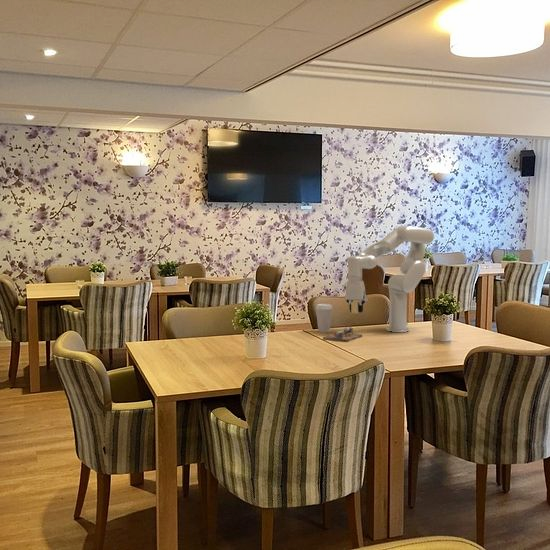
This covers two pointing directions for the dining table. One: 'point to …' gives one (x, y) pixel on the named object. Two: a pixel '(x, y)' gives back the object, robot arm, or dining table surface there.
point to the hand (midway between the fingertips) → (356, 311)
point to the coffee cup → (324, 317)
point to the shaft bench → (343, 335)
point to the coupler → (355, 307)
